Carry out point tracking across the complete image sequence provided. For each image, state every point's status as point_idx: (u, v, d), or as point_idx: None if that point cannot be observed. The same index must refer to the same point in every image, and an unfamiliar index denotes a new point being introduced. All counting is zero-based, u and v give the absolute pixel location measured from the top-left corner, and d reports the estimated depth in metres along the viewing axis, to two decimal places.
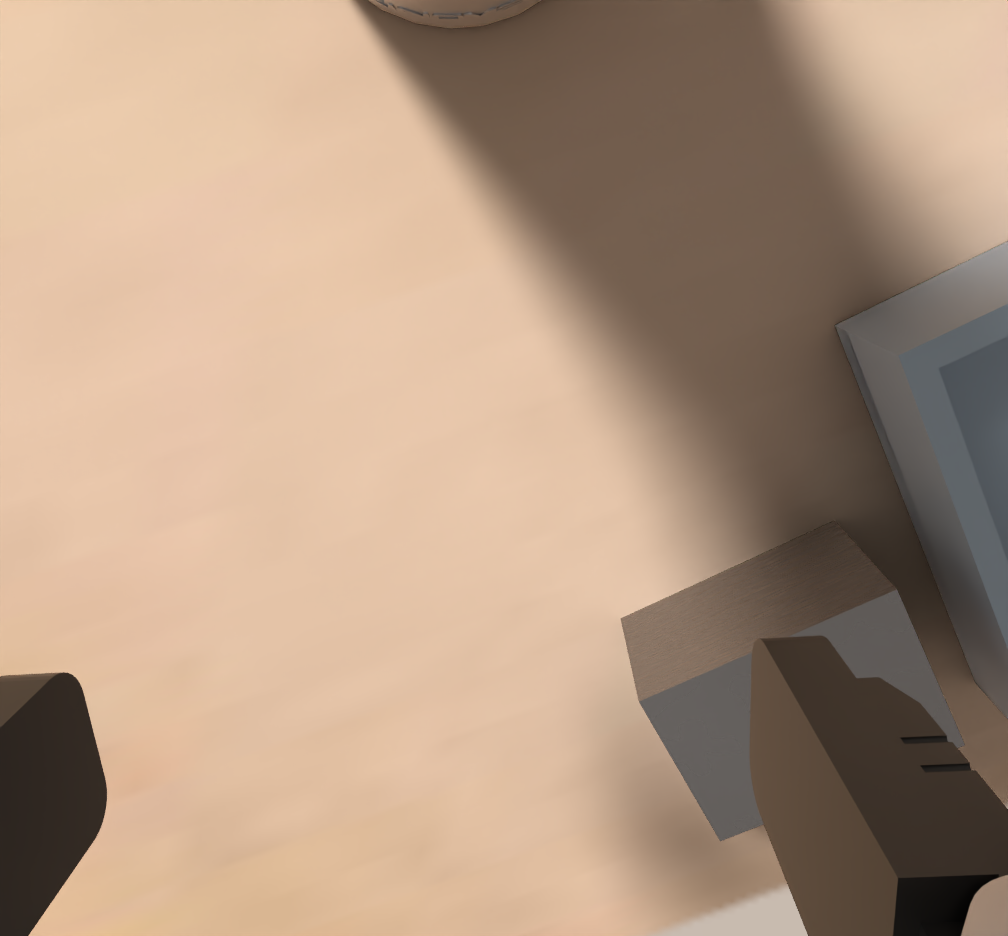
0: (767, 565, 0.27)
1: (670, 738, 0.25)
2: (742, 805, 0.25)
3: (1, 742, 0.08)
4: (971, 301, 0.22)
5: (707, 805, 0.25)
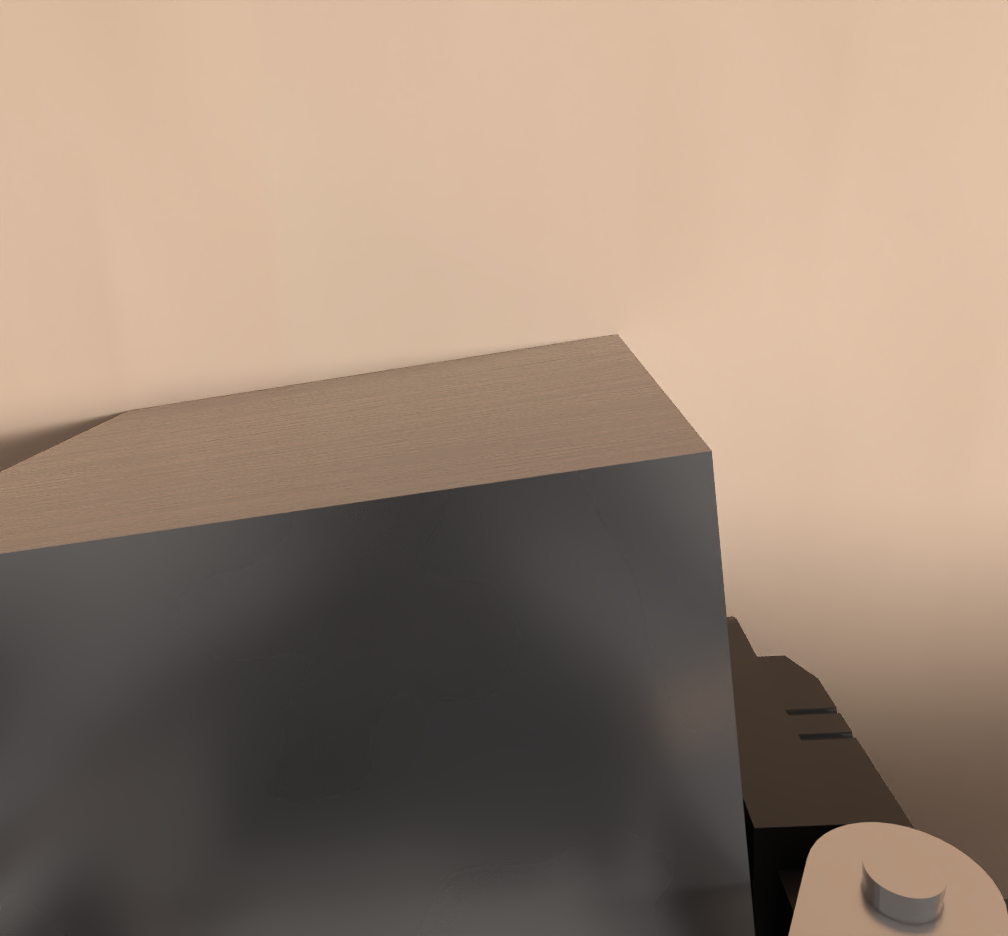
0: None
1: (438, 533, 0.05)
2: None
3: None
4: None
5: None
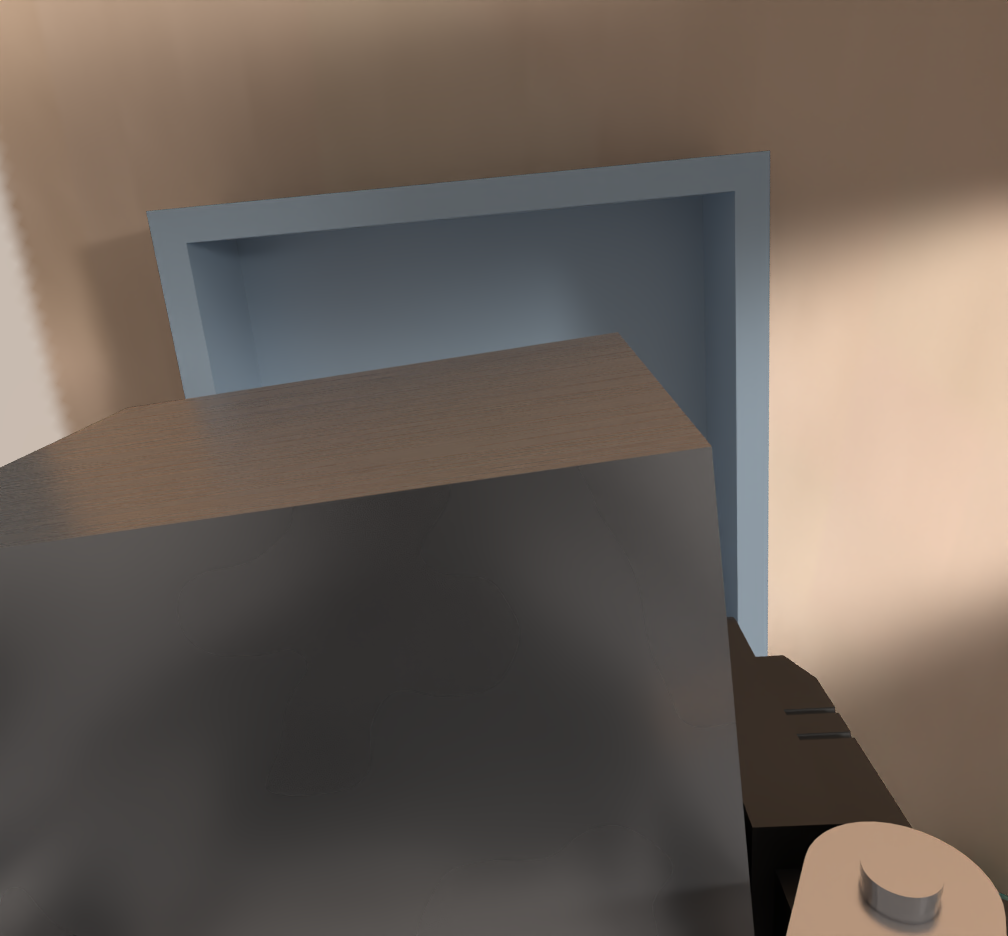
0: None
1: (439, 528, 0.05)
2: None
3: None
4: None
5: None
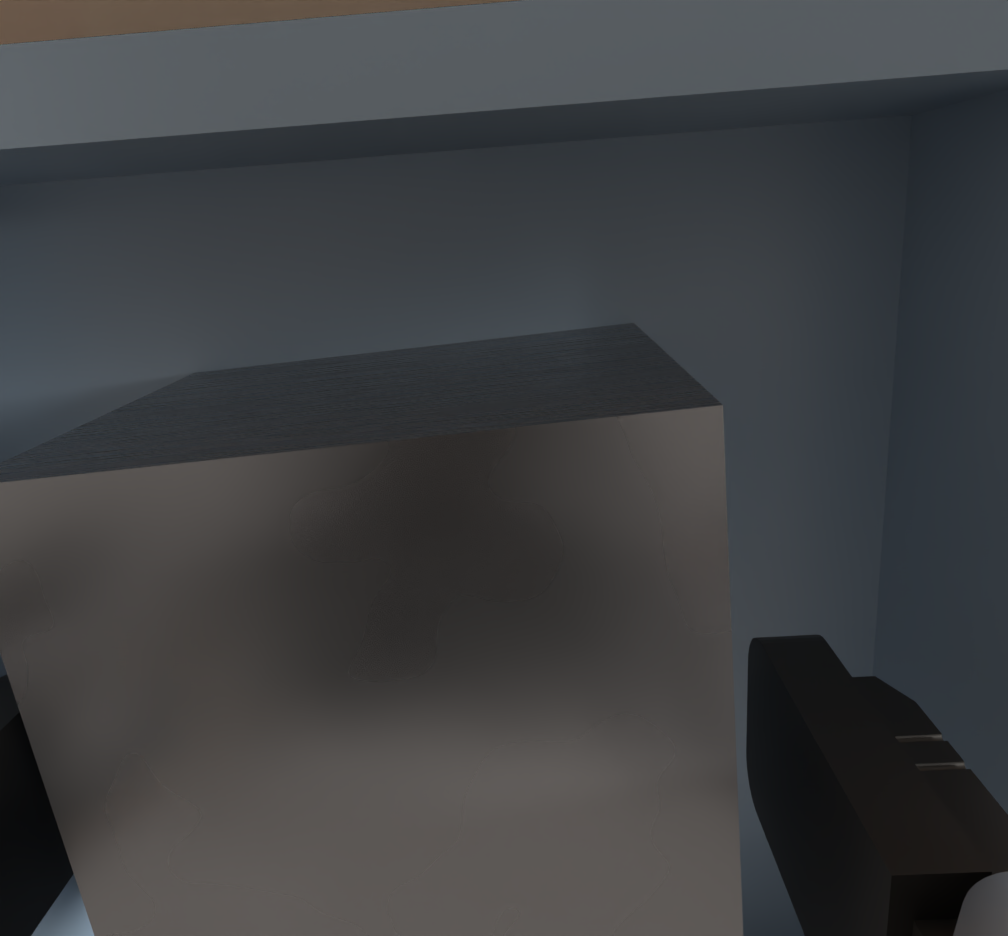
0: None
1: (504, 462, 0.06)
2: (107, 613, 0.07)
3: (6, 741, 0.08)
4: None
5: (139, 493, 0.06)
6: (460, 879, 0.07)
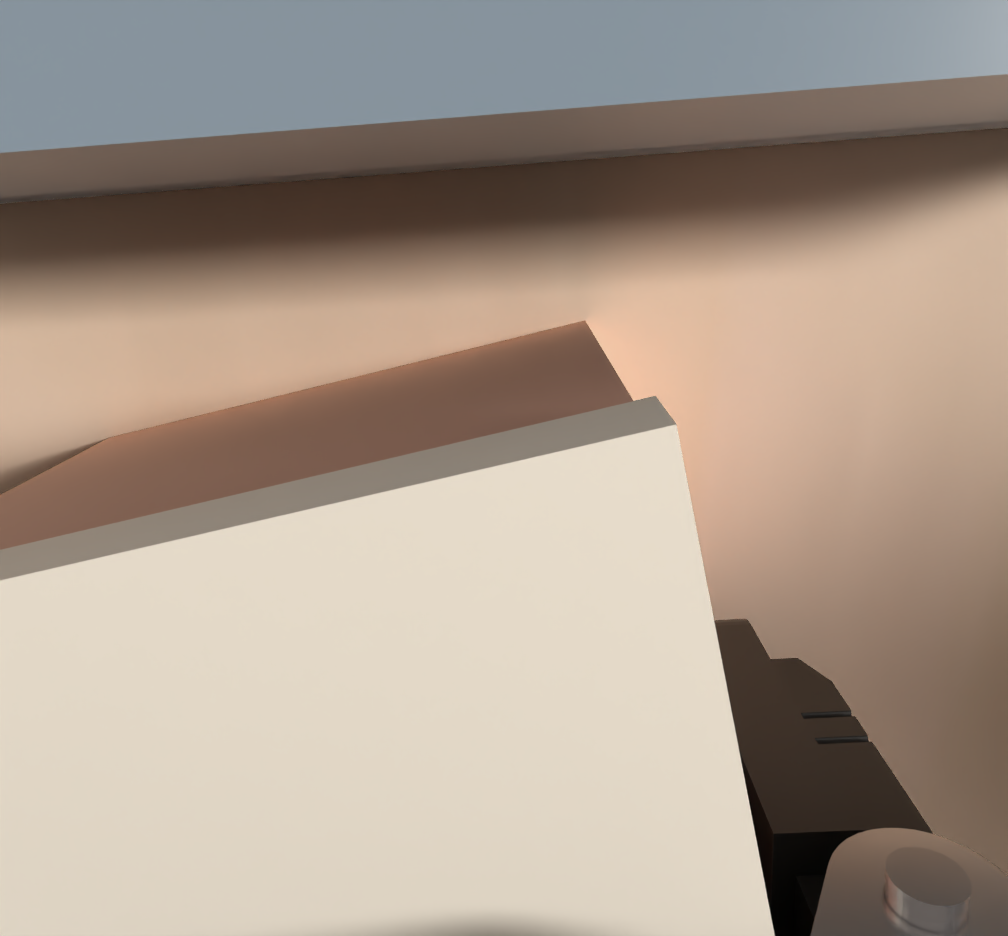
0: None
1: None
2: None
3: None
4: None
5: None
6: None
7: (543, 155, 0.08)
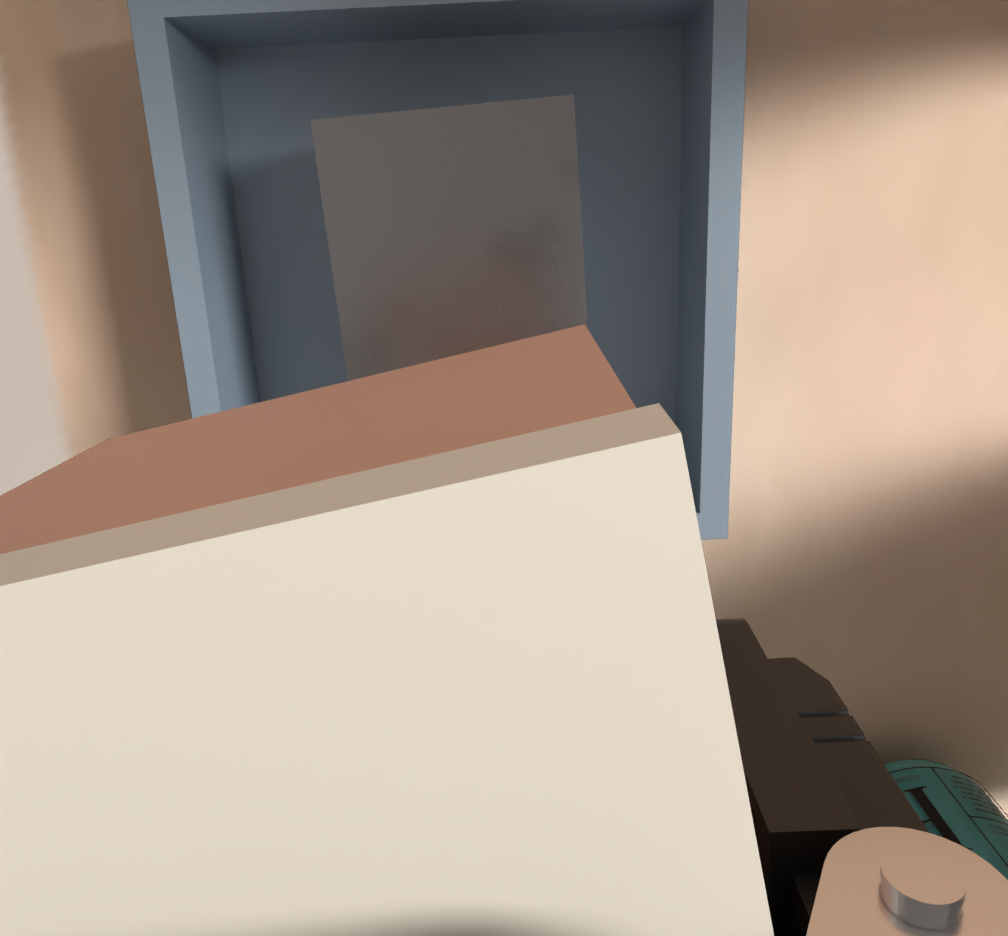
0: None
1: (501, 114, 0.18)
2: (360, 171, 0.19)
3: None
4: None
5: (376, 123, 0.18)
6: (481, 290, 0.19)
7: None
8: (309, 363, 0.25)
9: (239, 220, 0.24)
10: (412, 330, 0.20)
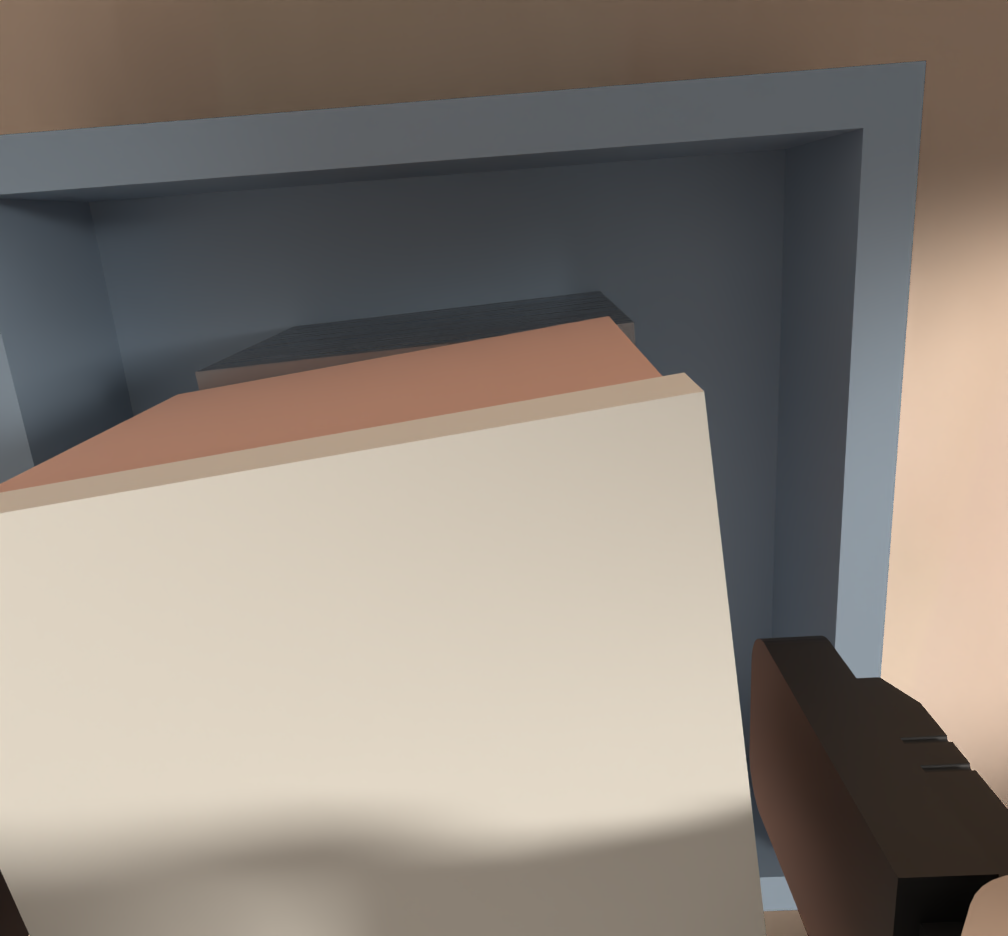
0: None
1: None
2: None
3: None
4: None
5: None
6: None
7: None
8: None
9: None
10: None
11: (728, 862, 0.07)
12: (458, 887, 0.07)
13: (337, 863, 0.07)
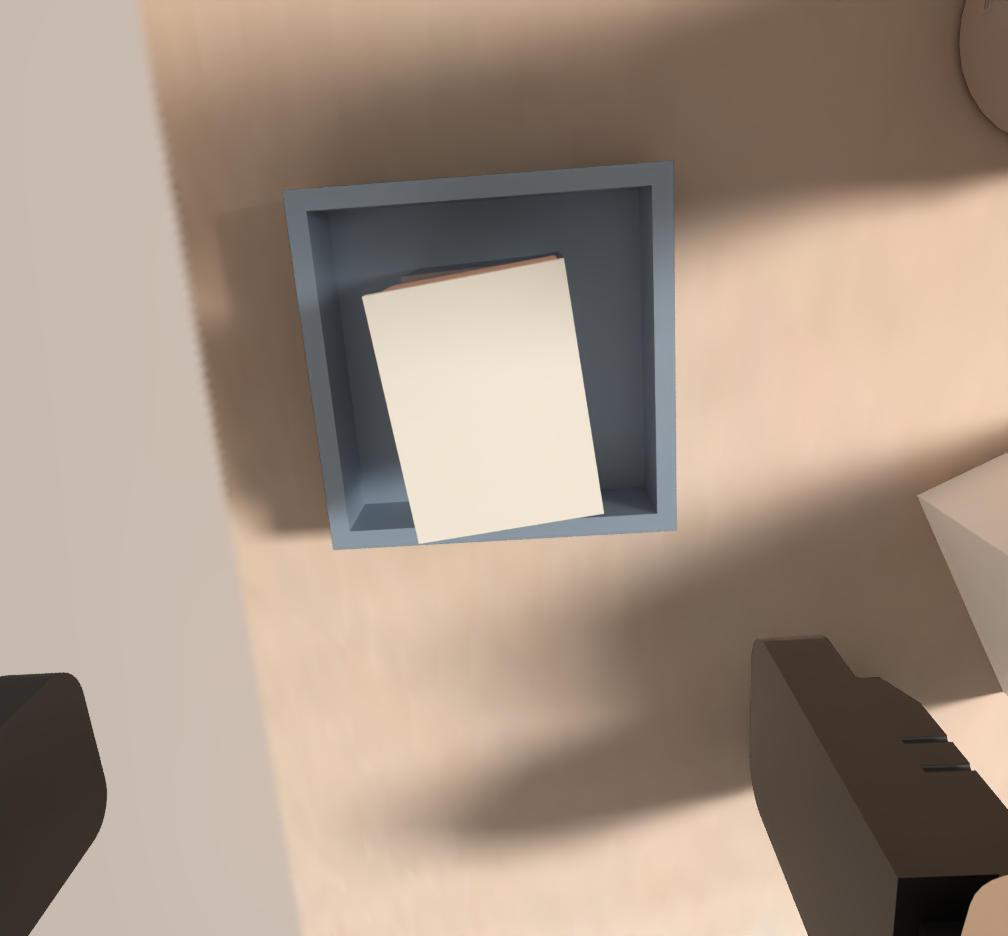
0: None
1: None
2: None
3: (1, 743, 0.08)
4: None
5: None
6: None
7: None
8: None
9: (343, 321, 0.35)
10: None
11: (576, 387, 0.25)
12: (505, 396, 0.25)
13: (474, 389, 0.25)
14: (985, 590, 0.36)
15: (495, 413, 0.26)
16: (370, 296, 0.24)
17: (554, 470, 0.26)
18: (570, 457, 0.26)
